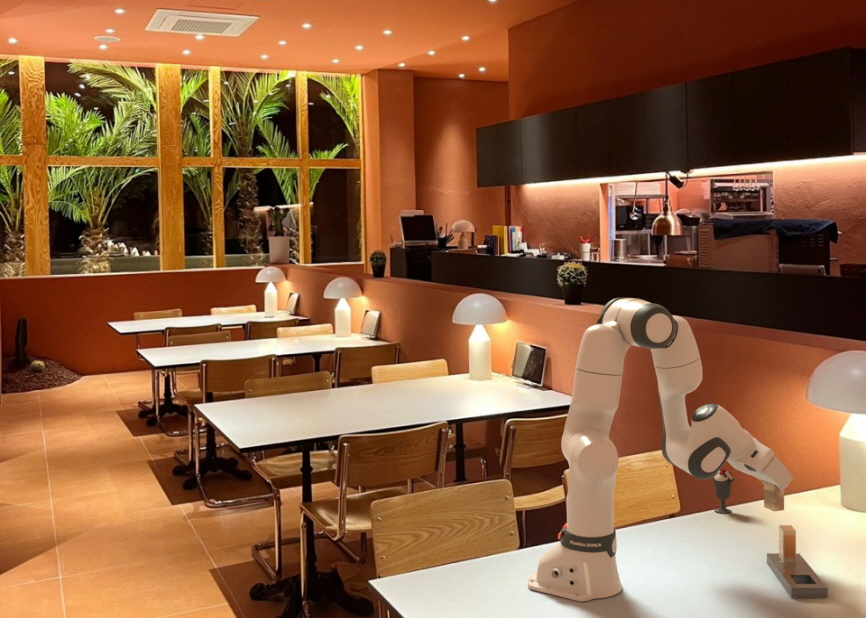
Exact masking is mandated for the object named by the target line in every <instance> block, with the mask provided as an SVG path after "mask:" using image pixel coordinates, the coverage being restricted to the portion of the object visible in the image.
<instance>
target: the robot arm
mask: <svg viewBox="0 0 866 618" xmlns="http://www.w3.org/2000/svg"><path fill="white" fill-rule="evenodd" d="M632 346H634V347H638V348H643V349H646V350H647V349H648V350H650V352H651V356H652V360H653V367H654V369H655V370H654V371H655V375H656V379H657V380H656V381H657V393H658V399H659V400H658V401H659V402H658V403H659V407H660V415H661V421H662V427H663V429H662V430H663V432H662V438H661V453H662V456H663V459H665V460H666V462H667V463H668V464H670V465H672V466H674V467H677V468H679V469H681V470H682V471H684V472H685V473H688V474H689V475H690V476H692V477H694V478H695V479H697V480H709V479H711V478H712V477H713V476H716V475H717V473H718V472H719V470H721V468H722V469H723V467H724V465H725V463H726V462H728V464H730V465H731V467H732V468H734V469H735V470H737V471H739V472H741V473H744V474H746V475H749V476H752V477H754V478H756V479H757V480H759V481H761V482H762V483H763V484H764V481H767V482H769V483H772V484H774V485H775V487H776V488H777V489H778V490H781V491H784V492H785V490H786V488H787V487H788V486H789V484H790V483H791V482H792V481H793V475H792V474H791V472H790V471H789V470H788V469H787V467H786V466H785V465H784V463H783V462H782V461H781V460H779V458H778V457H776V456H775V451H773V450H772V449H771V448H770V447H769V446H766V445H764V444H763V443H761V442H760V441H759V440H758V439H756V437H754V436H753V435H752V434H751V433H750V432H749V431H747V430H746V429H745V428H743V427H742V426H741V424H740V422H739V421H738V420H737V419H736V418H735V417H734V416H733V415H732V414H731V413H730V412H729V411H727V409H725V408H724V407H723V406H721V405H719V404H716V403H708V404H704V405H701V406H700V407H698V408H696V410H694V412H693V413H692V414H691V418H690V420H691V426H690V424H689V420H688V413H687V406H686V395H687V394H690V393H692V392H694V391H696V390H697V388H698V387H700V384H701V383H702V381H703V364H702V359H701V356H700V355H701V354H700V351H699V347H698V344H697V341H696V338H695V335H694V333H693V330H692V327H691V326H690V324H689V321H687V319H686V318H683V317H682V316H680V315H679V316H678V315H672V313H671V312H670V311H669V310H668V309H667V308H665V306H663V305H661V304H658V303H652V302H650V301H647V300H645V299H642V298H641V299H640V298H635V297H634V298H633V297H626V296H622V297H621V296H620V297H616V298H613V299H611V300H609V301H608V302H607V303H606V304H605V305H604V306H603V308H602V310H601V311H600V315H599V318H598V319H597V320H596V324H594V325H591V326H589V327H587V328H586V329H585V330H584V333H583V335H582V338H581V341H580V344H579V349H578V353H577V358H576V362H575V363H576V364H575V371H574V376H573V377H574V378H573V385H572V394H571V398H570V399H571V401H570V404H569V409H568V412H567V416H566V419H565V424H564V429H563V433H562V437H561V442H560V443H561V444H560V445H561V446H560V447H561V452H562V454H563V456H564V457H565V459H566V460H567V463H568V465H569V467H568V468H569V477H568V478H569V480H568V488H567V489H568V490H567V495H566V523H565V524H564V525H563V526H562V529H561V530H560V531H559V533H558V534H557V537H558V538H557V540H559V541H560V542H558V543H557V544H556V545H554V546H553V547H551V548H550V549H548V550H547V551H546V552H545V553H544V554H543V555H542V556H541V557H540V559H539V561H538V563H537V564H538V565H537V569H536V570H535V571H533V573H532V574H531V575H530V576H529V577H528V581H527V587H528V589H530V590H532V591H535V592H540V593H544V594H548V595H552V596H553V595H554V596H557V597H561V598H565V599H568V600H572V601H576V602H577V601H578V602H588V601H591V600H594V599H596V600H597V599H604V598H610V597H613V596H615V595H617V594H619V593H620V592H621V591H622V589H623V585H622V582H621V579H620V575H619V571H618V565H617V558H616V554H617V546H618V545H617V540H618V539H617V536H616V535H617V533H616V532H617V531H616V529H615V528H614V527H615V526H614V524H615V523H614V521H615V519H614V518H615V517H614V497H615V496H614V495H615V488H616V480H617V471H618V470H617V469H618V467H619V454H618V450H617V447H616V446H615V444H614V442H613V441H612V440H611V439H610V430H611V426H612V424H613V420H614V416H615V414H616V413H617V410H618V408H619V404H620V395H621V388H622V382H623V381H622V379H623V373H624V362H625V357H626V354H627V353H628V350H629V349H630V348H631V347H632ZM722 466H723V467H722Z"/></svg>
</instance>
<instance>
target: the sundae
mask: <svg viewBox="0 0 866 618" xmlns="http://www.w3.org/2000/svg"><path fill="white" fill-rule="evenodd" d="M710 479H711V480H712V482H713V486H714V492H715V496H716V497H717V499H719V500H720V507H718V508H715V509H714V513H717V512H718V513H717V514H719V515H720V514H721V515H723V514H724V515H727V514H731V513H732V510H731V509H729V508H727V507H726V500H728V499H729V498H730V497H731V491H732V489H731V488H732V486H733V485H732V483H733V482H734V481H735V477H734V476H731V472H730V471H728V470H727V468H726V467H724V465H723V466H722V468H721V469H720V470H719V472H718V473H717V474H716V475H715V476H713V477H711V478H710ZM717 510H718V511H717Z"/></svg>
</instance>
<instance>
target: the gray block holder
mask: <svg viewBox="0 0 866 618" xmlns="http://www.w3.org/2000/svg"><path fill="white" fill-rule="evenodd" d="M766 564H767V565H768V567H769V568H770V570H771V571H772V572H773V574H774V576H775V577H776V579H777V580H778V581H779V583H780V584H781V586H782V587H783V588H784V590H785V591H786V593H787V594H788V596H789V595H790V596H789V597H790V598H791V599H817V598H828V599H829V597H828V595H829V588H828V586H827V585H826V584H825V583H824V582H823V580H822V579H821V578H820V577H819V575H818V574H817V573H816V572H815V570H814V569H813V568H812V567H811V566H810V565H809V563H808V562H807V561H806V559H804V557H803V556H802V555H801V553H797V530H796V529H795V527H793V526H792V525H791V524H790V525H789V524H787V525H785V524H779V525H778V553H776V552H775V553H771V552H770V553H769V552H768V553H766Z"/></svg>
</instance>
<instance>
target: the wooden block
mask: <svg viewBox="0 0 866 618" xmlns="http://www.w3.org/2000/svg"><path fill="white" fill-rule="evenodd" d="M763 507H764V508H766V509H768V510H770V511H773V512H780V511H781V512H782V511H785V490H784V491H781V490H778V489H777V488H776V487H775V485H774V484H772V483H769V482H767V481H764V483H763Z"/></svg>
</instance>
